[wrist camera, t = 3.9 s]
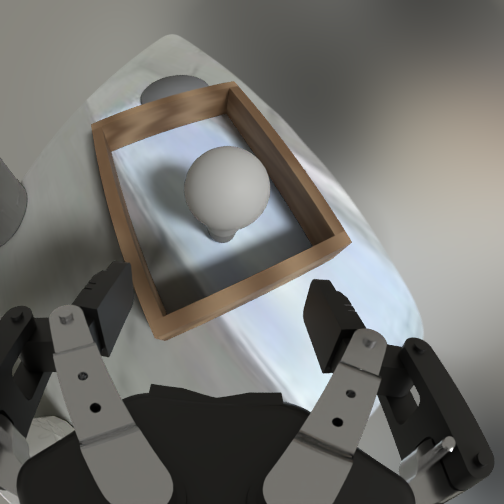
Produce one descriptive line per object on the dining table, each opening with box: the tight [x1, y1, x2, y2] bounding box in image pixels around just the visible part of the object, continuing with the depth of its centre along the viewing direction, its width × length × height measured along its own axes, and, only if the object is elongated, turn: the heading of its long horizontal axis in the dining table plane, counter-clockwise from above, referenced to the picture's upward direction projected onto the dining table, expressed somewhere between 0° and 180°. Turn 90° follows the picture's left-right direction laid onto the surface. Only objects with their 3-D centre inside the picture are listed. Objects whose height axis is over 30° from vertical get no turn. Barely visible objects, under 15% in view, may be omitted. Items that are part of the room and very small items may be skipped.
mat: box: [141, 75, 208, 105], centre depth 33 cm, size 10×10×1 cm
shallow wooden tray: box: [91, 81, 352, 341], centre depth 26 cm, size 18×24×4 cm
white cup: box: [0, 416, 75, 504], centre depth 11 cm, size 8×8×10 cm
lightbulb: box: [184, 146, 270, 243], centre depth 21 cm, size 6×6×11 cm
